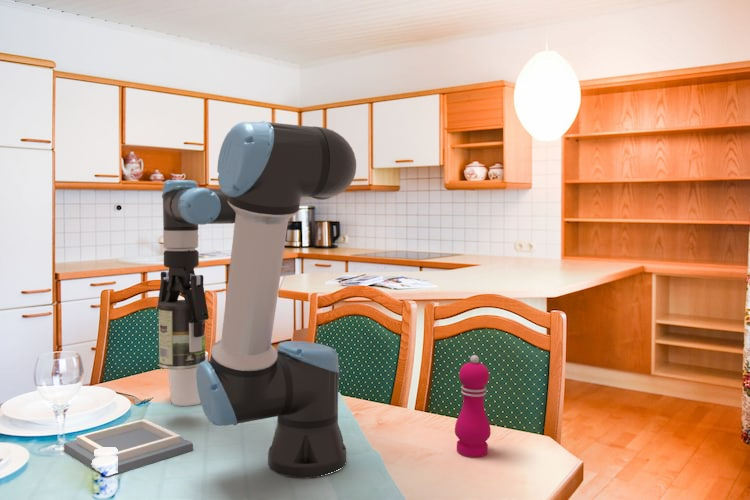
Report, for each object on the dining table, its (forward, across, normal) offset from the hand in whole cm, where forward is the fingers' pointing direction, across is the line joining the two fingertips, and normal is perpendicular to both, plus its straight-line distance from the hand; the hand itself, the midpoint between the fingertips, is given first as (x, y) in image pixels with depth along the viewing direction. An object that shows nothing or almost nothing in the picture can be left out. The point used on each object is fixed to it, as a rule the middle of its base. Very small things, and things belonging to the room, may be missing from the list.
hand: (182, 347), depth 147 cm
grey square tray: (+17, -7, +17) cm, 25 cm away
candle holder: (+17, +13, -9) cm, 23 cm away
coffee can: (+4, 0, 0) cm, 4 cm away
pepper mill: (+18, -57, -31) cm, 68 cm away
